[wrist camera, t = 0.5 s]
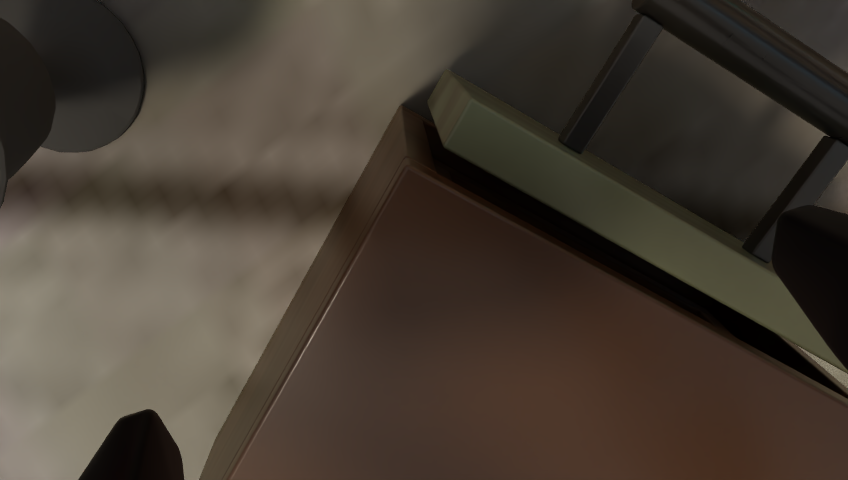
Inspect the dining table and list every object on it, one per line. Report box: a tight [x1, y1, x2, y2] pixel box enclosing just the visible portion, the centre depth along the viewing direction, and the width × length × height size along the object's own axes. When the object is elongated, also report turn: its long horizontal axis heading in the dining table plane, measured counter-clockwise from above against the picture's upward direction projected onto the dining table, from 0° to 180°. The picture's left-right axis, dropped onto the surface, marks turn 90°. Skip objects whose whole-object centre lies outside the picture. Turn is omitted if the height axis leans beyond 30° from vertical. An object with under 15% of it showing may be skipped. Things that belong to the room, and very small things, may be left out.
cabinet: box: [199, 105, 848, 480], centre depth 21 cm, size 14×14×9 cm
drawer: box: [427, 0, 848, 374], centre depth 20 cm, size 18×12×7 cm
